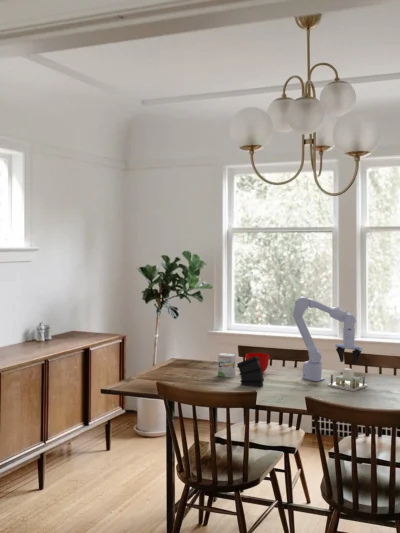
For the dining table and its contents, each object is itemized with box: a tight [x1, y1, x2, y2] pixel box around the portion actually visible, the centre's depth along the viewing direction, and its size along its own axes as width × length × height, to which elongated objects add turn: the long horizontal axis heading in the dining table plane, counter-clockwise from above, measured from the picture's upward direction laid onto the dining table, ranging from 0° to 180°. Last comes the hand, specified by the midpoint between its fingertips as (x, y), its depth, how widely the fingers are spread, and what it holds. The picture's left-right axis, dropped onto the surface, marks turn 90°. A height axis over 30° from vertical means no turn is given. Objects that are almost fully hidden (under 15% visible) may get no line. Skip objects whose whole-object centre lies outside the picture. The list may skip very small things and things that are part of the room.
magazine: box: [236, 356, 265, 388], centre depth 285 cm, size 4×13×15 cm, turn 62°
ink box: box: [217, 352, 236, 379], centre depth 306 cm, size 8×5×12 cm, turn 69°
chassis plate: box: [327, 371, 368, 392], centre depth 286 cm, size 14×14×6 cm
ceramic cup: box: [245, 352, 270, 374], centre depth 316 cm, size 13×17×10 cm
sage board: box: [335, 367, 361, 382], centre depth 286 cm, size 10×7×5 cm
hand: (348, 362), depth 297 cm, fingers open, 7 cm apart
